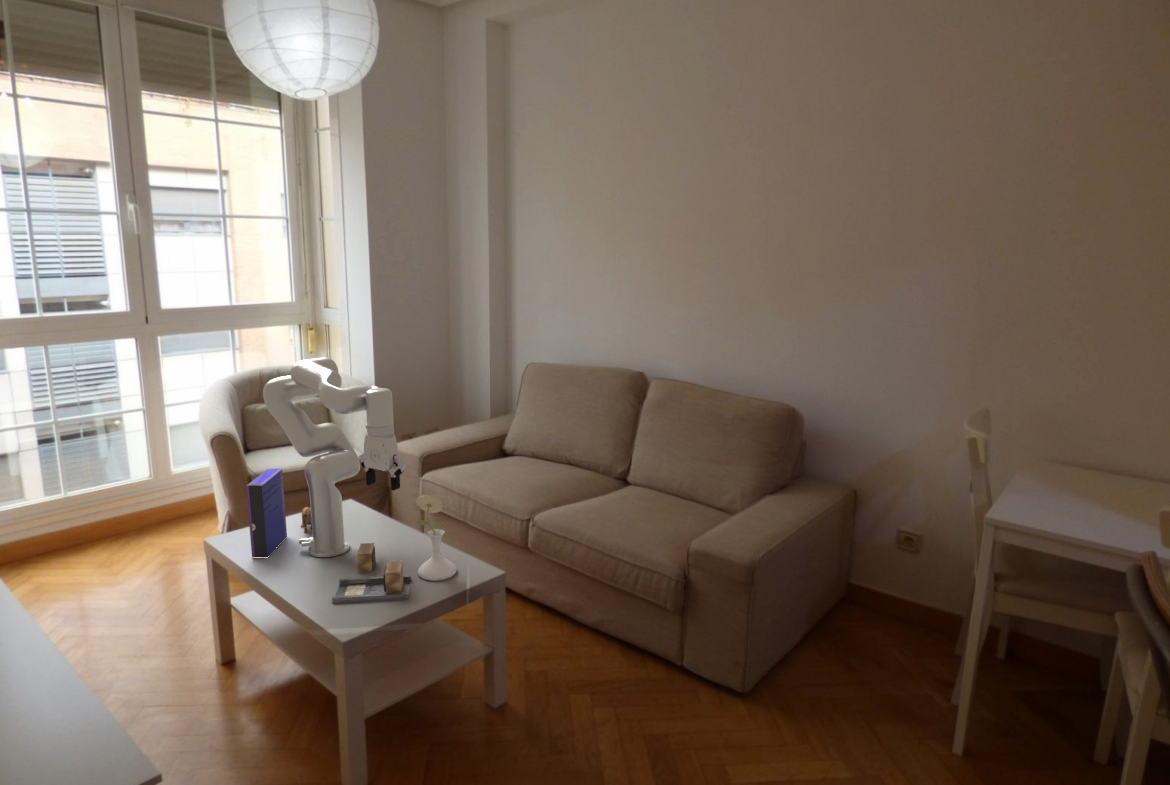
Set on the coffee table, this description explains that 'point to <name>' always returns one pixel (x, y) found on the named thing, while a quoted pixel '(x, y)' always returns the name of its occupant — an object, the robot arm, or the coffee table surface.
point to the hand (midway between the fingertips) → (383, 486)
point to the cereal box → (266, 512)
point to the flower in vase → (434, 544)
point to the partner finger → (393, 577)
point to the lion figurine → (306, 518)
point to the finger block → (366, 558)
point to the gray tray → (368, 590)
